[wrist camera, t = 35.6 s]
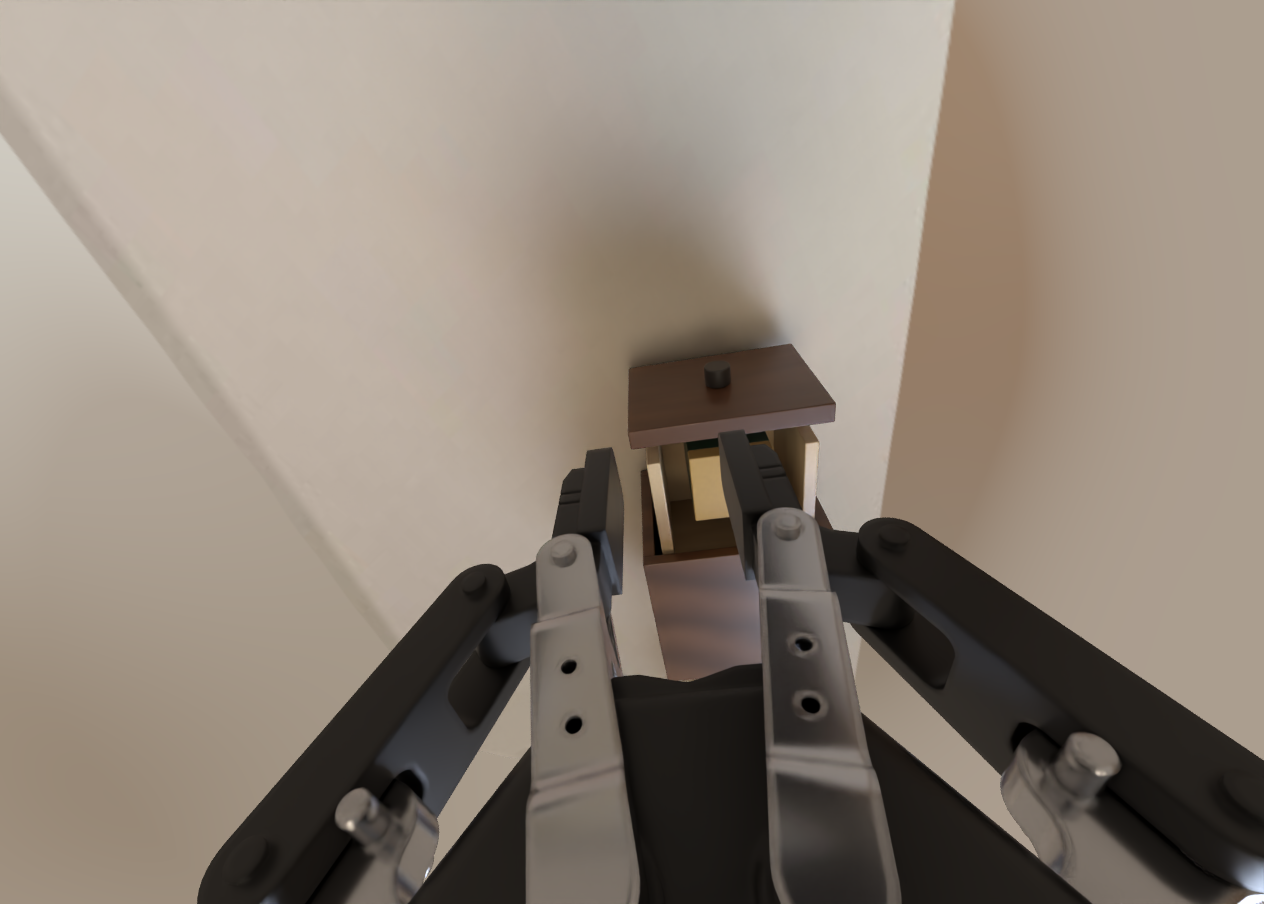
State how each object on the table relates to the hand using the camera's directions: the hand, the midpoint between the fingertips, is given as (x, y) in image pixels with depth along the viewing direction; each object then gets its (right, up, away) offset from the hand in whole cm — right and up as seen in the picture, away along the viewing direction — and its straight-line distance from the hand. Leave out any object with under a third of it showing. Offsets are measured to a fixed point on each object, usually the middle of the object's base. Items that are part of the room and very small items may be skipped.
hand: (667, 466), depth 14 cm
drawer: (+5, +3, +23) cm, 23 cm away
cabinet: (+7, -6, +29) cm, 31 cm away
